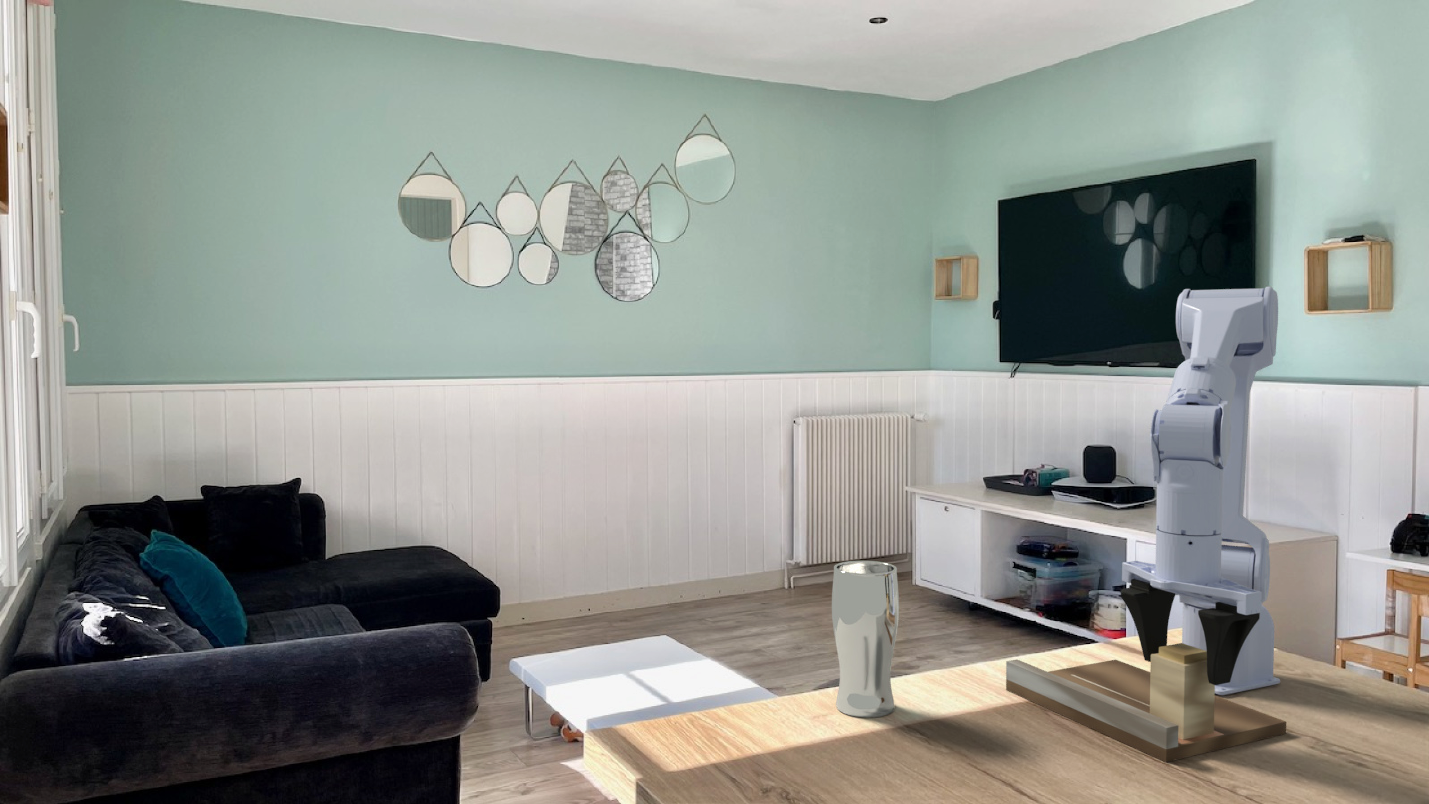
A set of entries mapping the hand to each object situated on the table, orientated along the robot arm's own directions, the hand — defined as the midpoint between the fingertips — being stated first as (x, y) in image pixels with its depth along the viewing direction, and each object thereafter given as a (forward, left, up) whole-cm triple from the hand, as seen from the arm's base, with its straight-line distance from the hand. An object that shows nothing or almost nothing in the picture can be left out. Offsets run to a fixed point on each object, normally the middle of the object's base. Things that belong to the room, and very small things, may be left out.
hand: (1185, 670), depth 102 cm
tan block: (+1, 0, -6) cm, 6 cm away
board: (-2, -8, -7) cm, 11 cm away
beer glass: (+23, -21, -7) cm, 32 cm away
